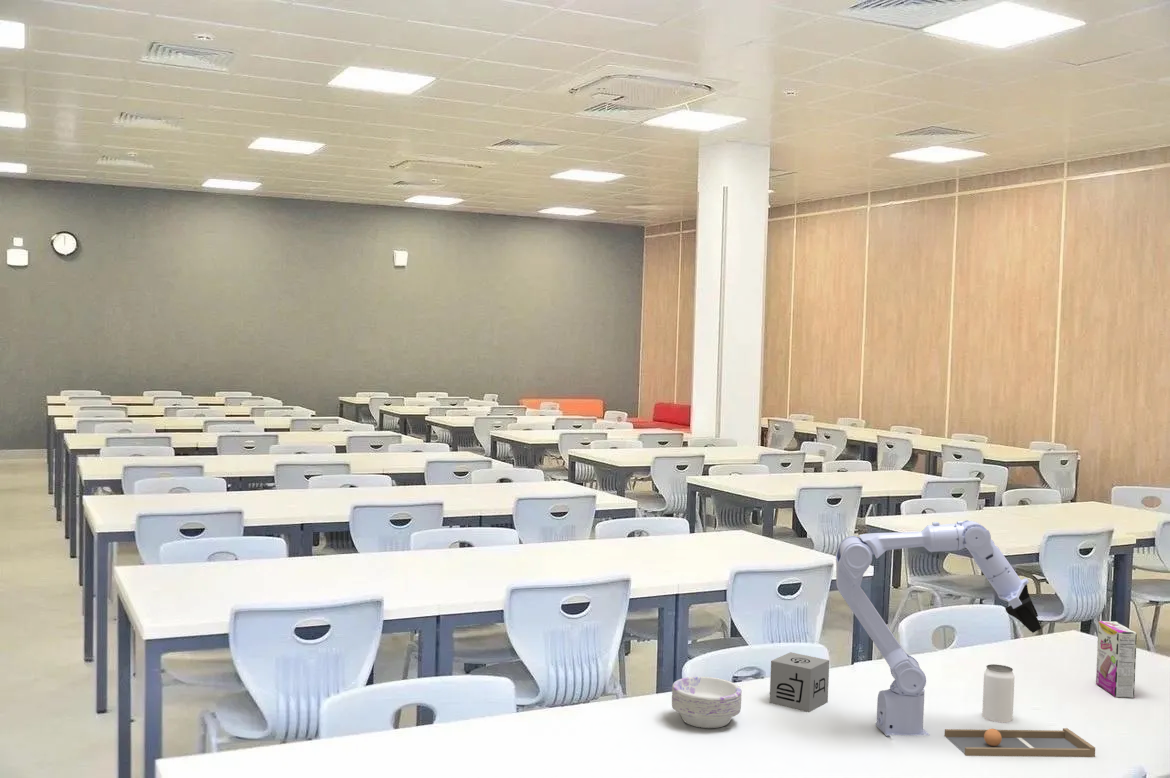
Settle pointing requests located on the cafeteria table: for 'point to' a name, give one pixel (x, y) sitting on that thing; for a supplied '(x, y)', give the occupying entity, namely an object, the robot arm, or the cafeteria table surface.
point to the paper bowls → (706, 701)
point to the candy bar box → (1116, 659)
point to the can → (998, 693)
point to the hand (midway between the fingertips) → (1035, 624)
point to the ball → (992, 737)
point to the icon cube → (799, 681)
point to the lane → (1022, 743)
